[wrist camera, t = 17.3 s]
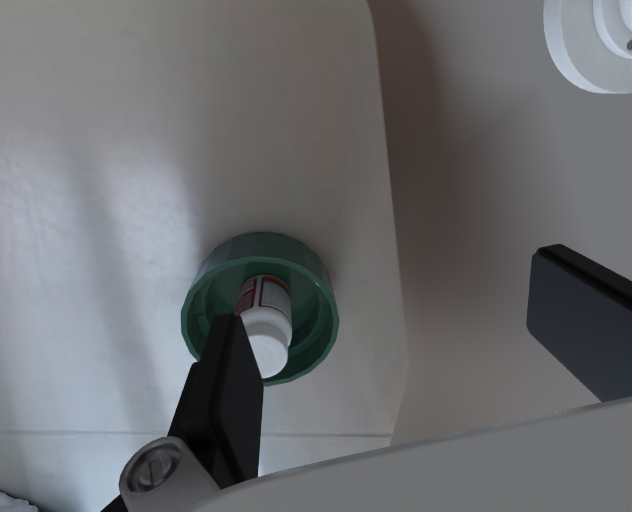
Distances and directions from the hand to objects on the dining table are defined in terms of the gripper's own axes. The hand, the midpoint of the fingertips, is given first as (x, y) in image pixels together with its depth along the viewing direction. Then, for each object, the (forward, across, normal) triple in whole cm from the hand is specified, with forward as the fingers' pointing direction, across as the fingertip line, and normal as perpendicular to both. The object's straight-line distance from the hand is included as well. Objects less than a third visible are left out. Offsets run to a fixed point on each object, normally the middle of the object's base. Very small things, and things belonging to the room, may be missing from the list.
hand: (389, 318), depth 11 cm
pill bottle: (+28, +9, +14) cm, 33 cm away
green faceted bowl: (+28, +9, +14) cm, 33 cm away
